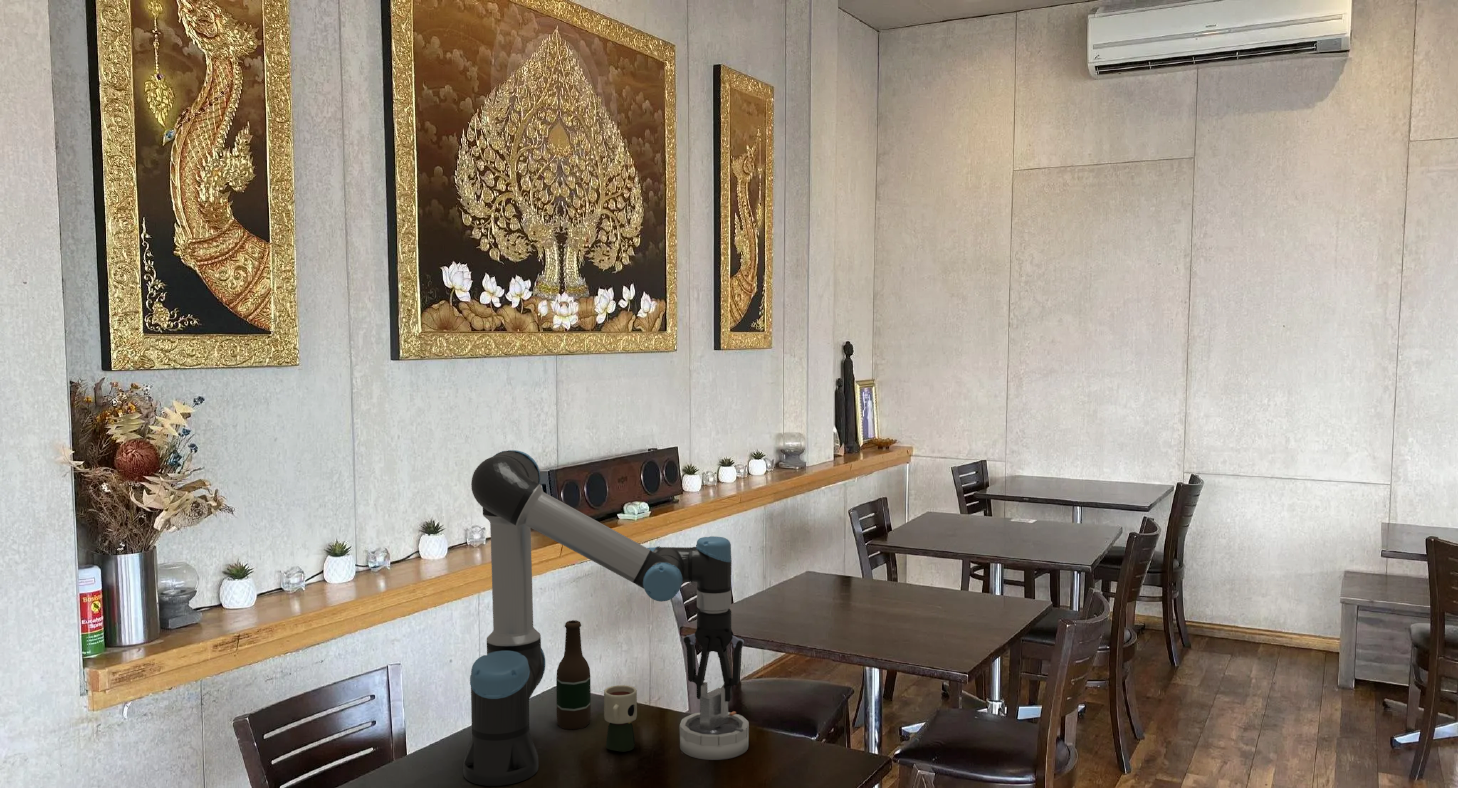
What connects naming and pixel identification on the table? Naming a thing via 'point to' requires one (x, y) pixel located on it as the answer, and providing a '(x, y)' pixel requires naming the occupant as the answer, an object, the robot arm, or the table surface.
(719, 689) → the dial
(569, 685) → the beer bottle
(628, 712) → the character mug
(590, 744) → the table surface
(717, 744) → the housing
